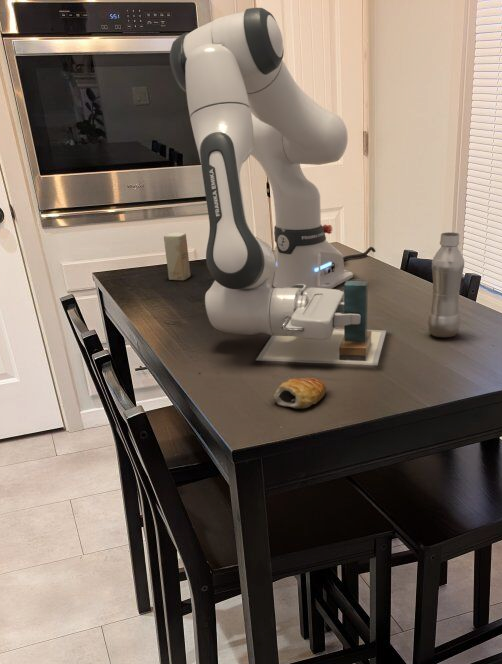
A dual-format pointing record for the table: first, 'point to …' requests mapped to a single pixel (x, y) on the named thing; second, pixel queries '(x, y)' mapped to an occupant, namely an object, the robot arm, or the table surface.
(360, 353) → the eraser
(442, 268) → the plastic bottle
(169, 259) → the box
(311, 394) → the pastry
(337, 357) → the whiteboard
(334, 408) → the table surface
